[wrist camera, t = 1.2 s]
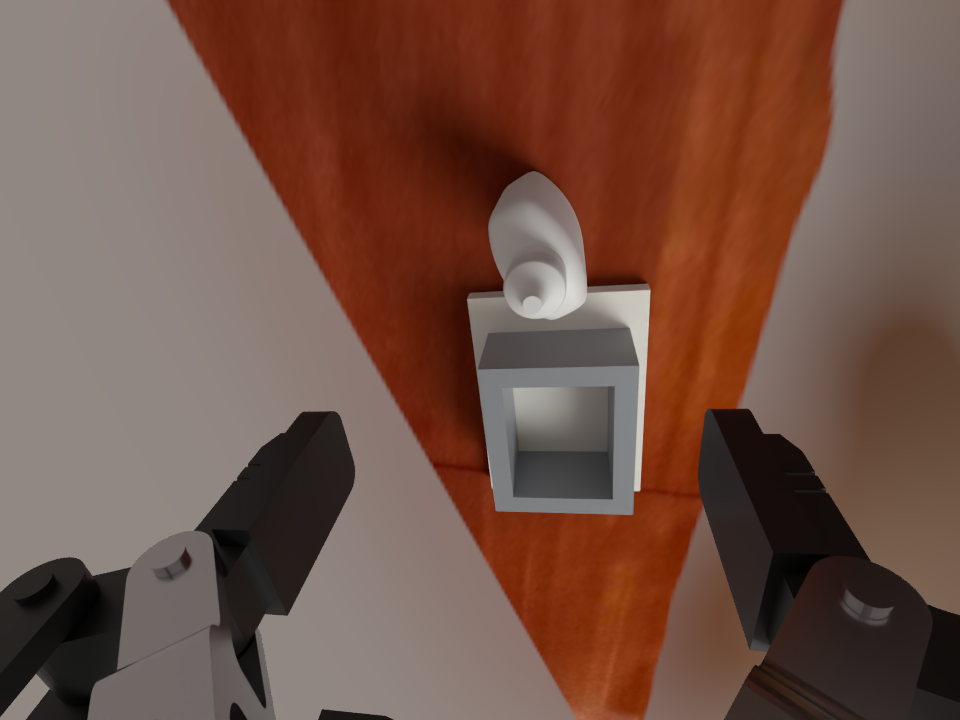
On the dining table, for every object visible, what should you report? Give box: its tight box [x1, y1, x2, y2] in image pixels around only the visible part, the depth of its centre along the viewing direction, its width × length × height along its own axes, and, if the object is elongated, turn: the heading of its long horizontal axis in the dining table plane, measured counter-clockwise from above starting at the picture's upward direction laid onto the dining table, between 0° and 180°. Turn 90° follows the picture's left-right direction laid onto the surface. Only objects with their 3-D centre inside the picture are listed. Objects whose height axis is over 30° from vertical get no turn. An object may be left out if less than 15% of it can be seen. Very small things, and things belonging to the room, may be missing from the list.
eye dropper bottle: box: [488, 171, 587, 320], centre depth 23 cm, size 4×6×12 cm
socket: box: [467, 284, 650, 515], centre depth 31 cm, size 15×10×6 cm
